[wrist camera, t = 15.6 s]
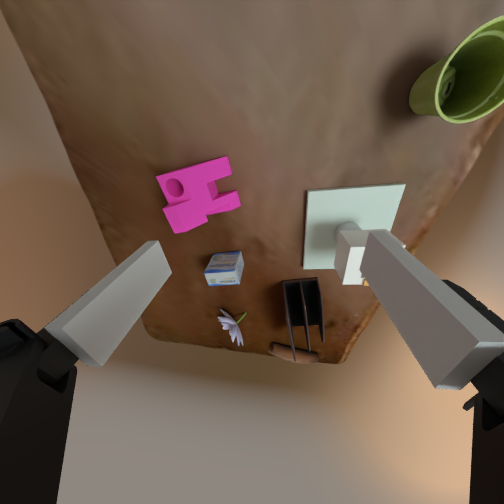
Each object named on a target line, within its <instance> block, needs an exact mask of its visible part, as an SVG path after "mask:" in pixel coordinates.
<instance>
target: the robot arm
mask: <svg viewBox="0 0 504 504" xmlns="http://www.w3.org/2000/svg"><path fill="white" fill-rule="evenodd" d="M359 270H360V272H361V273H362V275H363V276H364V278H365V279H366V281H367V283H368V284H369V286H370V287H371V289H372V290H373V292H374V294H375V295H376V297H377V298H378V300H379V301H380V303H381V305H382V306H383V308H384V309H385V311H386V312H387V314H388V315H389V317H390V319H391V320H392V322H393V323H394V325H395V326H396V328H397V329H398V331H399V333H400V334H401V336H402V337H403V339H404V340H405V342H406V344H407V345H408V347H409V348H410V350H411V351H412V353H413V355H414V356H415V358H416V359H417V361H418V362H419V364H420V366H421V367H422V369H423V370H424V372H425V373H426V375H427V377H428V378H429V380H430V381H431V383H432V384H433V386H434V387H435V388H437V389H453V390H461V389H462V388H463V387H464V386H466V385H467V384H468V383H469V382H470V381H471V383H472V384H473V385H474V386H475V387H476V389H477V390H478V391H479V393H477V394H476V395H475V396H473V397H472V398H471V399H469V400H468V401H467V402H466V403H465V404H464V406H463V409H465V410H466V411H467V410H469V409H470V408H472V407H473V406H474V419H473V440H472V441H473V442H472V459H471V460H472V461H471V479H470V500H469V504H504V321H503V320H502V319H501V318H500V317H499V316H497V315H496V314H495V313H493V312H492V311H491V310H488V309H487V307H486V306H485V305H483V304H482V303H481V302H480V301H477V300H476V298H475V297H474V296H472V295H471V294H470V293H469V292H467V291H466V290H465V289H464V288H462V287H460V286H458V285H456V284H454V283H452V282H451V281H449V280H441V279H439V278H438V277H437V276H436V275H435V274H434V273H432V272H431V271H430V270H429V269H428V268H426V266H424V265H423V264H422V263H421V262H419V260H417V259H416V258H415V257H414V256H413V255H412V254H410V253H409V252H408V251H407V250H406V249H405V248H403V247H402V246H401V245H400V244H399V243H398V242H397V241H395V240H394V239H393V238H392V237H391V236H390V235H388V234H387V233H386V232H385V231H369V235H368V239H367V242H366V246H365V250H364V254H363V257H362V261H361V265H360V269H359ZM171 273H172V272H171V269H170V267H169V265H168V262H167V260H166V258H165V255H164V253H163V251H162V248H161V246H160V244H159V241H147V242H146V243H145V244H144V245H143V246H141V247H140V248H139V249H138V250H137V251H135V252H134V253H133V254H132V255H131V256H129V257H128V258H127V259H126V260H125V261H123V262H122V263H121V264H120V265H119V266H117V267H116V268H115V269H114V270H113V271H111V272H110V273H109V274H108V275H107V276H105V277H104V278H103V279H102V280H101V281H100V282H98V283H97V284H96V285H95V286H94V287H92V288H91V289H90V290H88V291H87V292H86V293H85V294H83V295H82V296H81V297H80V298H79V299H78V300H76V301H75V302H74V303H73V304H72V305H71V306H69V307H68V308H67V309H65V310H64V311H63V312H62V313H61V314H59V315H58V316H57V317H56V318H55V319H53V320H52V321H51V322H50V323H49V324H48V325H46V326H45V327H44V328H43V329H42V330H40V331H39V332H38V333H35V332H34V331H32V330H31V329H30V328H29V327H28V326H27V325H25V324H24V323H23V322H22V321H20V320H19V319H10V320H7V321H4V322H1V323H0V504H56V502H57V496H58V490H59V483H60V477H61V470H62V464H63V458H64V452H65V446H66V445H65V444H66V439H67V433H68V426H69V420H70V414H71V408H72V401H73V394H74V388H75V382H76V375H77V368H76V366H74V364H75V363H76V362H77V361H78V359H80V360H81V361H82V362H83V363H84V364H85V365H86V366H94V367H102V366H103V365H104V364H105V362H106V361H107V359H108V358H109V357H110V355H111V354H112V353H113V351H114V350H115V349H116V347H117V346H118V345H119V343H120V342H121V341H122V339H123V338H124V337H125V335H126V334H127V333H128V331H129V330H130V329H131V327H132V326H133V324H134V323H135V322H136V320H137V319H138V318H139V316H140V315H141V314H142V312H143V311H144V310H145V308H146V307H147V306H148V304H149V303H150V302H151V300H152V299H153V298H154V296H155V295H156V294H157V292H158V291H159V290H160V288H161V287H162V285H163V284H164V283H165V281H166V280H167V279H168V277H169V276H170V275H171Z"/></svg>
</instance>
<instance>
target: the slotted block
mask: <svg viewBox="0 0 504 504" xmlns="http://www.w3.org/2000/svg"><path fill="white" fill-rule="evenodd" d="M369 231H385V232H386V233H387V234H388V235H390V236H391V237H392V238H393V239H394V240H395V241H397V242H398V243H399V244H400V245H401V246H402V247H403V248H405V246H406V245H405V244H403V243H402V242H401V241H400V240H399V239H397V238H396V237H395V236H394V235H393V234H391V233H390V232H389V231H388V230H387V229H370V230H347V231H339V236H338V242H337V248H336V254H335V260H334V267H335V269H336V271H337V273H338V276H339V278H340V280H341V282H342V284H363V285H364V286H369V284H368V283H367V281H366V279H365V278H364V276H363V275H362V273H361V272H360V270H359V269H360V265H361V261H362V257H363V254H364V250H365V246H366V242H367V239H368V235H369Z"/></svg>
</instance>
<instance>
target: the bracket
mask: <svg viewBox="0 0 504 504" xmlns="http://www.w3.org/2000/svg"><path fill="white" fill-rule="evenodd" d="M231 174H232V171H231V167H230V163H229V160H228V156H225V157H221V158H218V159H214V160H210V161H207V162H203V163H199V164H195V165H192V166H188V167H184V168H180V169H177V170H174V171H171V172H168V173H165V174H162V175H159V176H156V178H157V180H158V182H159V184H160V186H161V189H162V191H163V193H164V195H165V197H166V199H167V201H168V203H169V205H167V206H166V207H164V208H163V211H164V213H165V215H166V217H167V219H168V221H169V223H170V225H171V227H172V229H173V231H174V233H180V232H186V231H188V230H190V229H193V228H195V227H197V226H199V225H201V224H203V223H205V222H207V221H208V220H207V217H206V215H210V214H215V213H220V212H225V211H230V210H233V209H235V208H237V207H239V206H241V204H240V200H239V196H238V193H237V190H235V191H230V192H226V193H221V194H218V190H217V187H216V184H215V180H217V179H220V178H223V177H226V176H228V175H231Z"/></svg>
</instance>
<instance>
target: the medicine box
mask: <svg viewBox="0 0 504 504" xmlns="http://www.w3.org/2000/svg"><path fill="white" fill-rule="evenodd" d="M243 266H244V261H243V257H242V253H241V251H235V252H225V253H215V254H213V256H212V258H211V260H210V262H209V264H208V266H207V268H206V270H205V272H204V274H205V277H206V279H207V282H208V285H209V286H215V285H231V284H240V279H241V275H242V270H243Z"/></svg>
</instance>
